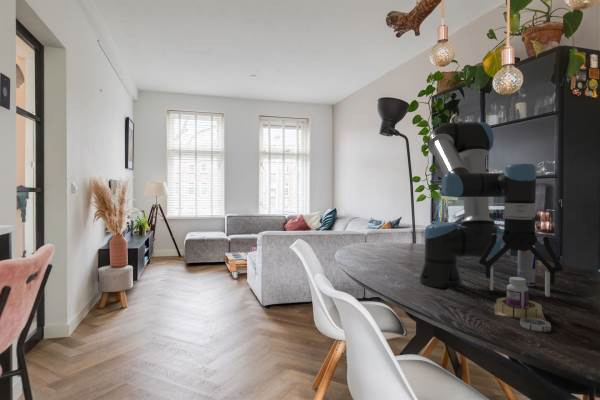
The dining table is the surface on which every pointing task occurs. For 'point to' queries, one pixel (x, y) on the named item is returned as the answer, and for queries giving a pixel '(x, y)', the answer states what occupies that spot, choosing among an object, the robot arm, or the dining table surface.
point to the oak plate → (511, 316)
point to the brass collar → (519, 309)
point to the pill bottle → (517, 293)
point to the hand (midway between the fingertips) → (518, 292)
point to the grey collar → (535, 324)
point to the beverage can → (526, 266)
